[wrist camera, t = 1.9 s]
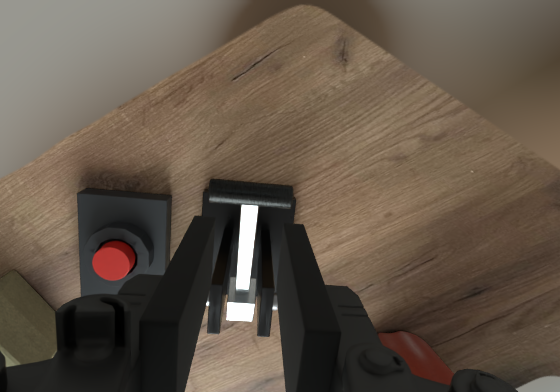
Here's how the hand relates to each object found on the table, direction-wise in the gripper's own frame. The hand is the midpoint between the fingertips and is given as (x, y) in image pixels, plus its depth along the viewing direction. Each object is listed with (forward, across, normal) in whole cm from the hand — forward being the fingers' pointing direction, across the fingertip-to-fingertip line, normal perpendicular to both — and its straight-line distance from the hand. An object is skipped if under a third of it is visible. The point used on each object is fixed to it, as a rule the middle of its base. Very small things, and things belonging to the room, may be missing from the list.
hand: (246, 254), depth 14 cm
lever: (+13, 0, -5) cm, 14 cm away
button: (+23, -13, -12) cm, 29 cm away
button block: (+27, -13, -12) cm, 32 cm away
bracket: (+27, 0, -11) cm, 29 cm away
